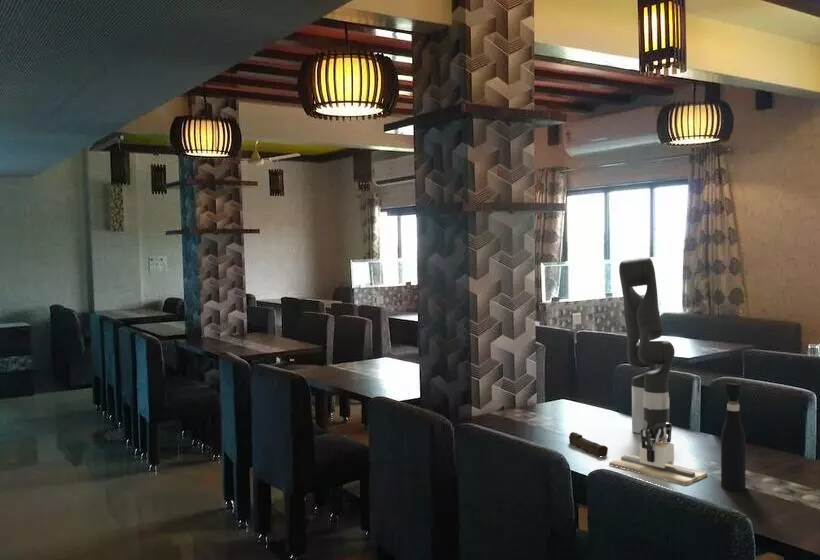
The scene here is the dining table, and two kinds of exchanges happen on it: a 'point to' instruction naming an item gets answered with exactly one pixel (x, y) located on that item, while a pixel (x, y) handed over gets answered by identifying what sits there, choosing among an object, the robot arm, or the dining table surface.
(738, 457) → the wine bottle
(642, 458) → the block
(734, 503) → the dining table surface
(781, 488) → the dining table surface
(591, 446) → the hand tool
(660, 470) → the rail board
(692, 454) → the dining table surface
